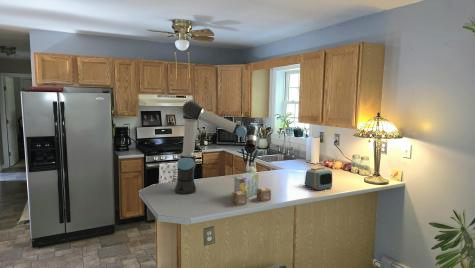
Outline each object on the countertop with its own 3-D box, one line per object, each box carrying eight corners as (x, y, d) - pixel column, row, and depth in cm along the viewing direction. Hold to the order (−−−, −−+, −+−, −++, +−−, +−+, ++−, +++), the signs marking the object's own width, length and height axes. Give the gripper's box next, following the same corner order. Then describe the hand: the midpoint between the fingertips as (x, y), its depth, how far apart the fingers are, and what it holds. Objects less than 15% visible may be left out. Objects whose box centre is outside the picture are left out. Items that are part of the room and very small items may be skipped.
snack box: (252, 191, 226) (252, 171, 224) (258, 193, 222) (259, 173, 220) (233, 198, 209) (234, 177, 207) (239, 200, 206) (240, 178, 204)
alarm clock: (318, 191, 232) (319, 170, 230) (303, 185, 246) (304, 166, 244) (333, 188, 241) (334, 168, 239) (317, 183, 255) (319, 164, 253)
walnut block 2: (256, 198, 212) (256, 188, 211) (265, 197, 215) (265, 187, 214) (261, 201, 206) (262, 191, 205) (270, 200, 209) (271, 190, 208)
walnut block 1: (232, 202, 203) (232, 191, 202) (241, 201, 206) (242, 190, 205) (237, 206, 196) (237, 195, 195) (246, 204, 199) (247, 193, 198)
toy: (259, 178, 264) (260, 161, 262) (246, 182, 251) (247, 164, 249) (250, 175, 271) (250, 159, 269) (237, 179, 258) (237, 161, 256)
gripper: (260, 146, 230) (256, 173, 215) (242, 144, 232) (238, 171, 218) (259, 139, 224) (256, 167, 210) (241, 138, 226) (237, 166, 212)
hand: (247, 169), depth 214 cm, fingers closed
